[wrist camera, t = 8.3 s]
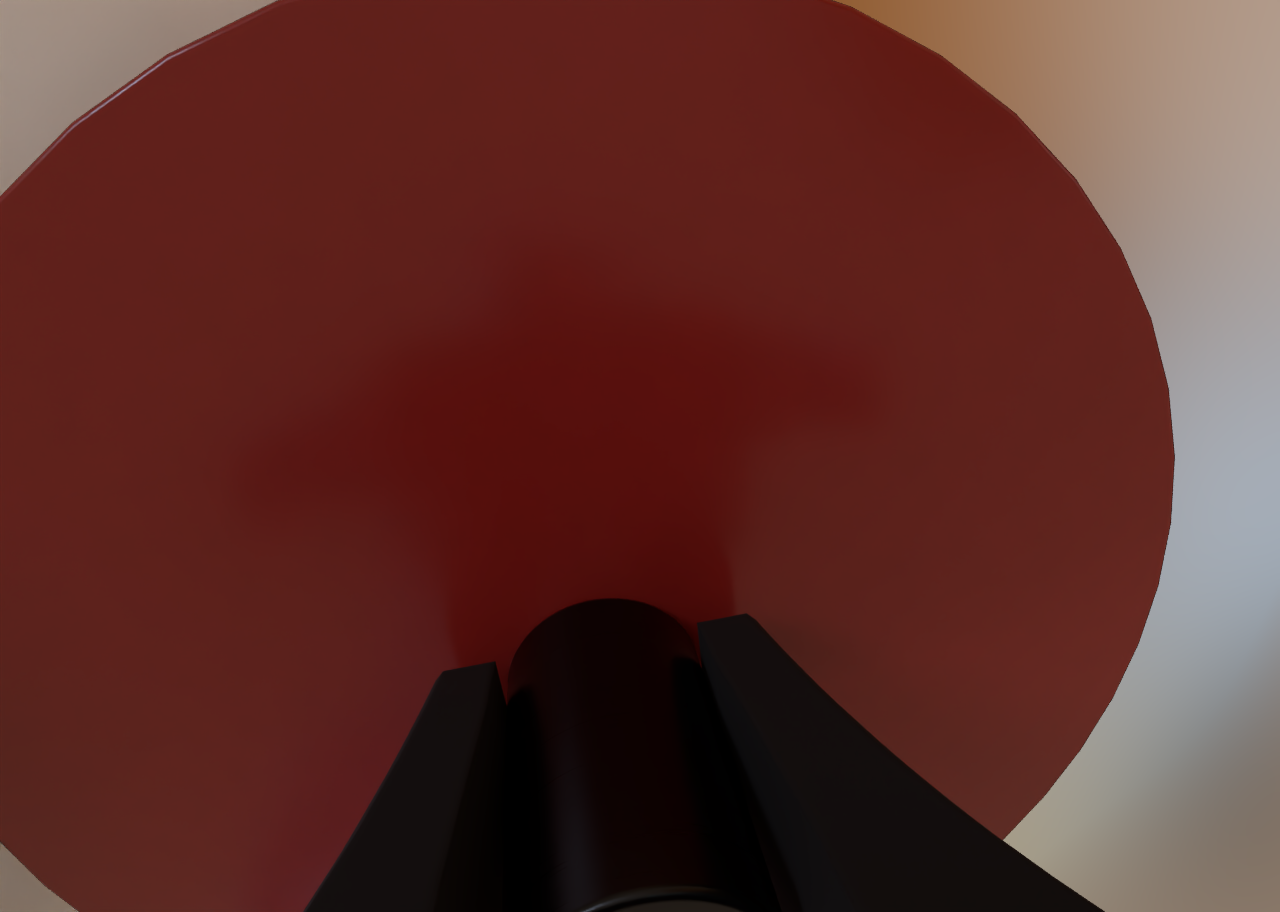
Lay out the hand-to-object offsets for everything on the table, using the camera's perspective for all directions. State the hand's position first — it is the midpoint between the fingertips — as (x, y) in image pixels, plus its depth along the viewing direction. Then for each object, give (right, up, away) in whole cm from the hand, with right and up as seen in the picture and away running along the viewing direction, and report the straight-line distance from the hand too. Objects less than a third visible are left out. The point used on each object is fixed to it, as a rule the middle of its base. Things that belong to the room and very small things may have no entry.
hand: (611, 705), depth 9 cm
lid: (0, 0, +1) cm, 1 cm away
